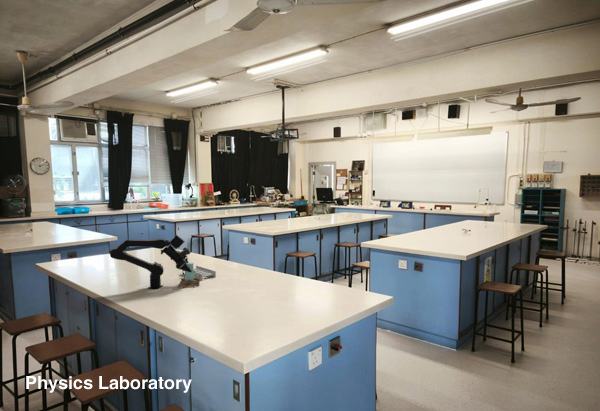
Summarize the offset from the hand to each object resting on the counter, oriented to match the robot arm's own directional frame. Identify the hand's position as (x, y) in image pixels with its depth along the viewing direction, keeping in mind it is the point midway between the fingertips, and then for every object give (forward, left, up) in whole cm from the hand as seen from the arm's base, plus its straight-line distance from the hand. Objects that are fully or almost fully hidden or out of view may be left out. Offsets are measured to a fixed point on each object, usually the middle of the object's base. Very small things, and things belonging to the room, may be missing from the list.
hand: (191, 270), depth 220 cm
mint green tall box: (-1, +1, -8) cm, 8 cm away
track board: (-1, +1, -9) cm, 9 cm away
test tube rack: (+16, +8, -7) cm, 19 cm away
